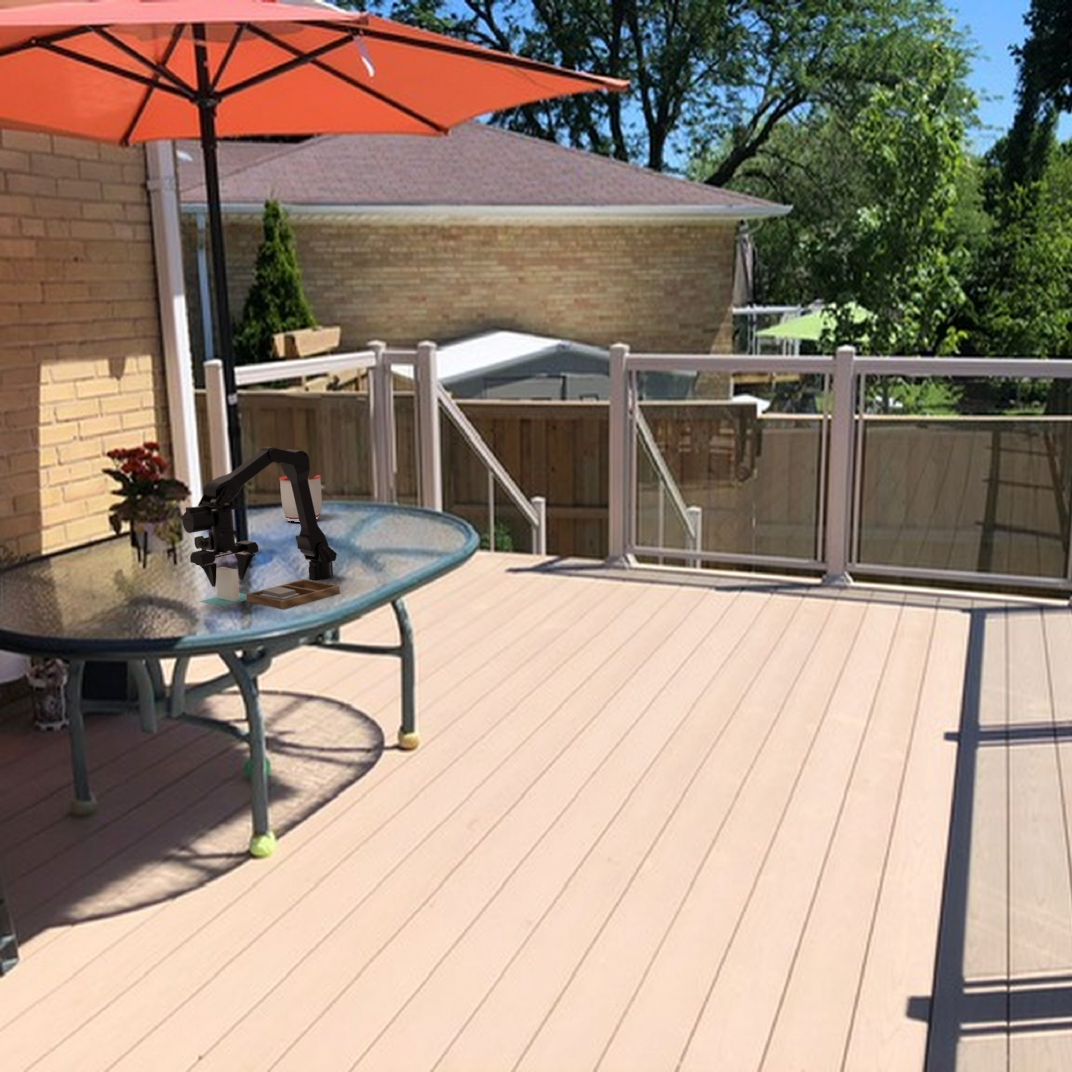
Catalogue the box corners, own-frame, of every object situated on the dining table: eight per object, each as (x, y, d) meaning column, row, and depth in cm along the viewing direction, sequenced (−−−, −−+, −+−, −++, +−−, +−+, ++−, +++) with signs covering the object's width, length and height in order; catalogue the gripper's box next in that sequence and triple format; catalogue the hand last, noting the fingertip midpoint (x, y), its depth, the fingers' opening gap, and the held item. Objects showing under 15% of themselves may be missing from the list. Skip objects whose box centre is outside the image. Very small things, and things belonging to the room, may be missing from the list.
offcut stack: (275, 596, 305) (274, 585, 305) (301, 601, 299) (300, 590, 298) (256, 601, 300) (255, 590, 300) (282, 606, 294) (281, 595, 293)
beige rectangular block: (223, 596, 306) (221, 566, 305) (239, 599, 302) (237, 569, 301) (217, 598, 305) (215, 568, 303) (233, 601, 301) (231, 571, 299)
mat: (235, 595, 311) (235, 592, 311) (258, 600, 305) (258, 596, 305) (199, 604, 302) (199, 601, 302) (222, 610, 296) (222, 606, 296)
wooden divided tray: (303, 589, 316) (303, 579, 315) (340, 596, 307) (339, 585, 306) (247, 604, 301) (246, 594, 300) (283, 612, 292) (282, 601, 291)
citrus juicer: (334, 517, 429) (331, 466, 425) (307, 525, 413) (304, 472, 409) (301, 515, 435) (297, 465, 431) (273, 523, 419) (269, 471, 416)
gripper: (232, 518, 312) (236, 572, 315) (175, 530, 297) (180, 586, 300) (257, 522, 305) (262, 577, 308) (200, 534, 290) (206, 591, 293)
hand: (227, 583), depth 303 cm, fingers open, 9 cm apart
